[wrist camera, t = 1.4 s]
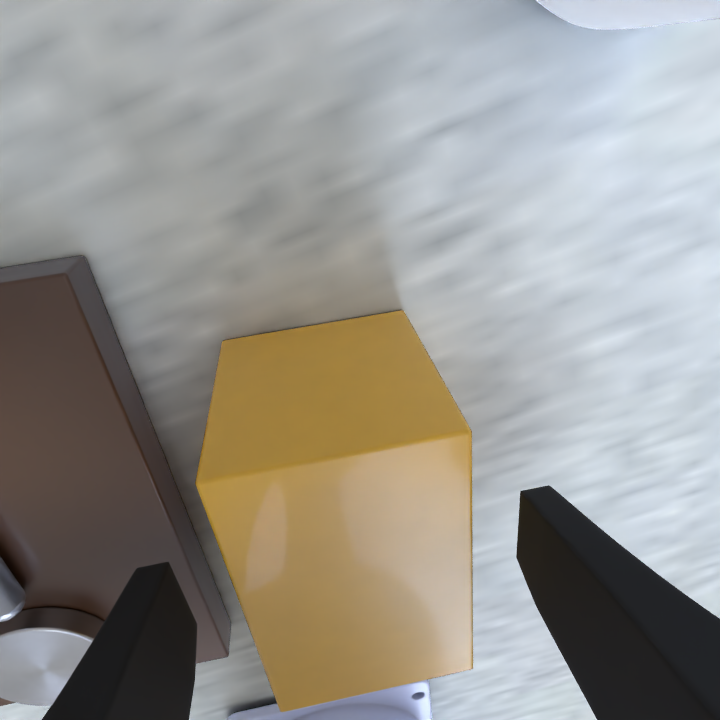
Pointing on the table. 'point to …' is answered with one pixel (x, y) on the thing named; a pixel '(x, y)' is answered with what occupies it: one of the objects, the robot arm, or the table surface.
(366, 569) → the block
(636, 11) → the can
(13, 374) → the board
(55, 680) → the silver rod with disc
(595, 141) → the table surface
